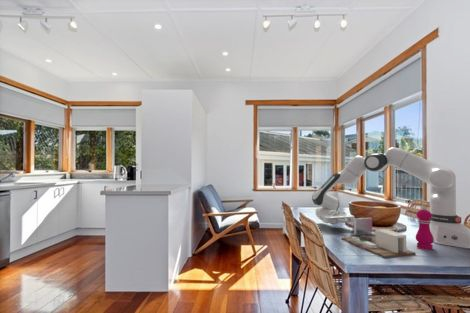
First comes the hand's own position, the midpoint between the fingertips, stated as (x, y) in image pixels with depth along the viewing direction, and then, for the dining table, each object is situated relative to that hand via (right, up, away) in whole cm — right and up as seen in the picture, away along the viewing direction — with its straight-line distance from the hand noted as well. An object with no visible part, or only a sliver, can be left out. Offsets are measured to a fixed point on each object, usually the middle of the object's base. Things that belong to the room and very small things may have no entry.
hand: (346, 221), depth 159 cm
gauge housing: (+8, -5, -32) cm, 34 cm away
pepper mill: (+27, -6, -28) cm, 39 cm away
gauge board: (+4, -6, -26) cm, 27 cm away
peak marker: (-2, -3, -25) cm, 25 cm away
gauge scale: (-2, -5, -25) cm, 26 cm away
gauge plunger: (+4, -5, -24) cm, 24 cm away
